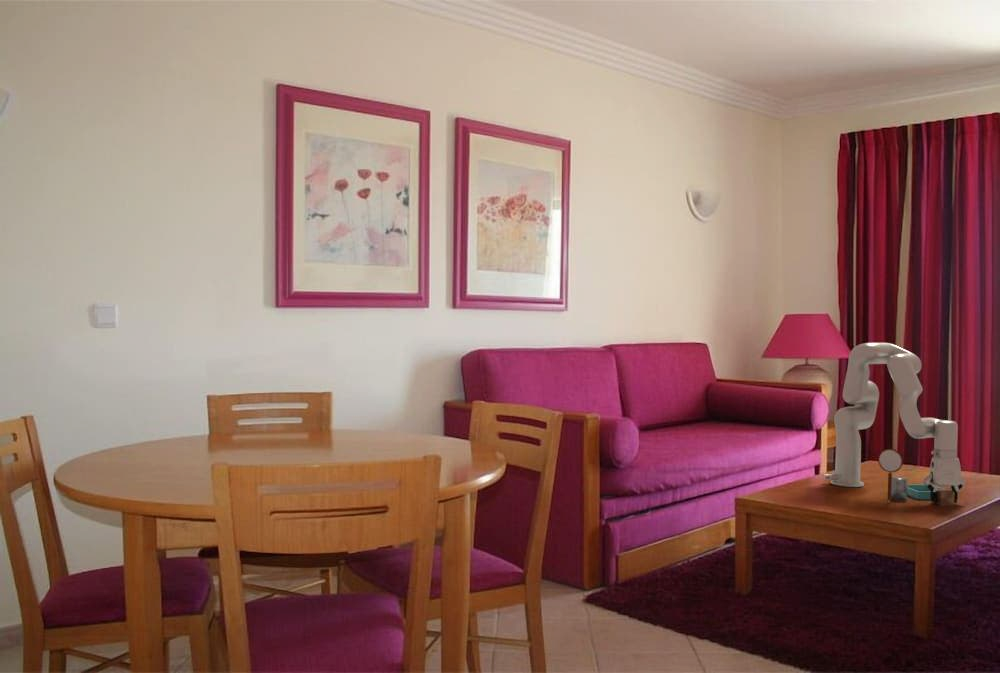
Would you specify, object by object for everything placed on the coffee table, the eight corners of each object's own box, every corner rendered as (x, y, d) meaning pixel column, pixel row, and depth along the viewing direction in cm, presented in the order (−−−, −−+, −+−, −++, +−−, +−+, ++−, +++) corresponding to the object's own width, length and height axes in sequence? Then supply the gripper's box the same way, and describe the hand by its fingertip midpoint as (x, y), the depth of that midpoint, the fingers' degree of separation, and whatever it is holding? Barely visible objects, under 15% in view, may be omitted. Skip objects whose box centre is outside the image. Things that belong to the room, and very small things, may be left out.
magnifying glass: (902, 504, 326) (903, 450, 325) (900, 505, 325) (902, 450, 324) (877, 500, 332) (879, 447, 331) (876, 501, 330) (877, 447, 330)
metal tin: (895, 501, 332) (895, 479, 331) (886, 497, 338) (887, 476, 337) (910, 501, 332) (911, 479, 332) (901, 497, 338) (902, 476, 338)
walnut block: (941, 505, 325) (941, 492, 325) (933, 502, 330) (933, 489, 330) (954, 505, 326) (954, 492, 326) (946, 502, 331) (946, 489, 331)
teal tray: (917, 499, 335) (918, 491, 335) (898, 492, 348) (898, 484, 348) (952, 499, 336) (952, 491, 336) (931, 492, 350) (931, 484, 349)
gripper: (928, 455, 323) (927, 504, 324) (974, 455, 325) (972, 504, 325) (917, 452, 330) (915, 500, 331) (961, 452, 332) (959, 499, 333)
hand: (943, 501), depth 328 cm, fingers open, 6 cm apart
